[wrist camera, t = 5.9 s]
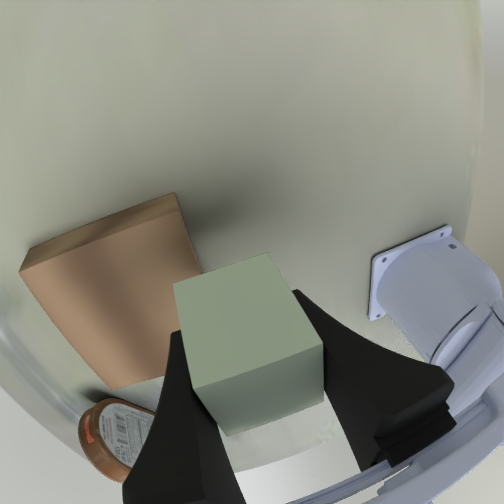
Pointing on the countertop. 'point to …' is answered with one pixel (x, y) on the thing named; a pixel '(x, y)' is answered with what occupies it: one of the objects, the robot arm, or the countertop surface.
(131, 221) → the walnut block
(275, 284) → the sage cube
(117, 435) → the tin
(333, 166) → the countertop surface
